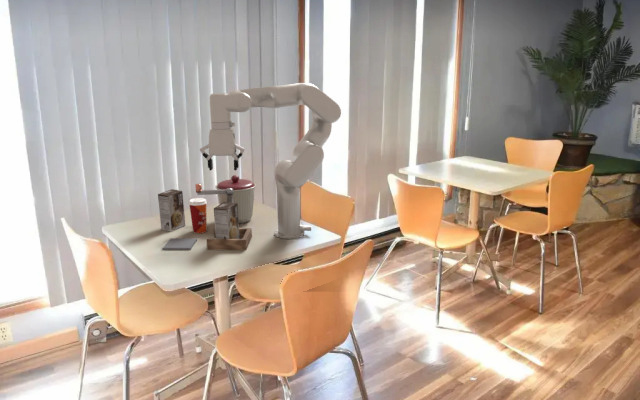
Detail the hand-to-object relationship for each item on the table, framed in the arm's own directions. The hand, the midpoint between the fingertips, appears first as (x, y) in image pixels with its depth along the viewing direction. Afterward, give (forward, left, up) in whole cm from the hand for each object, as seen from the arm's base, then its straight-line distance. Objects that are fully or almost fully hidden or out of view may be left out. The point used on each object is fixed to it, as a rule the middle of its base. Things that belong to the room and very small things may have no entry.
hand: (223, 169), depth 222 cm
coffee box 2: (0, 0, -31) cm, 31 cm away
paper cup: (+15, -15, -31) cm, 37 cm away
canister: (+1, -30, -31) cm, 43 cm away
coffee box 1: (+28, -20, -31) cm, 46 cm away
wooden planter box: (-1, -2, -30) cm, 31 cm away
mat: (+19, +2, -31) cm, 36 cm away
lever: (+6, -8, -12) cm, 16 cm away
